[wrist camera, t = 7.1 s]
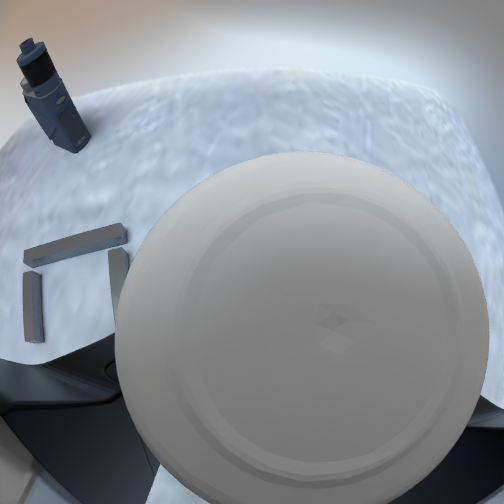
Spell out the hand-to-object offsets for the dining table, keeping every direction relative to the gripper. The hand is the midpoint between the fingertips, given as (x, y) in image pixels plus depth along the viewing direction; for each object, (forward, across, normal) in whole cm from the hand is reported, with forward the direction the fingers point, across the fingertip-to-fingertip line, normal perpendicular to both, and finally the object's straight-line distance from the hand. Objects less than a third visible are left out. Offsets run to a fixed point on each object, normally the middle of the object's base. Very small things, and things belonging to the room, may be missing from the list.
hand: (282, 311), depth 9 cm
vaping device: (+16, +20, -4) cm, 26 cm away
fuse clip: (+6, +13, +6) cm, 15 cm away
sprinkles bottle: (+4, 0, +6) cm, 7 cm away
